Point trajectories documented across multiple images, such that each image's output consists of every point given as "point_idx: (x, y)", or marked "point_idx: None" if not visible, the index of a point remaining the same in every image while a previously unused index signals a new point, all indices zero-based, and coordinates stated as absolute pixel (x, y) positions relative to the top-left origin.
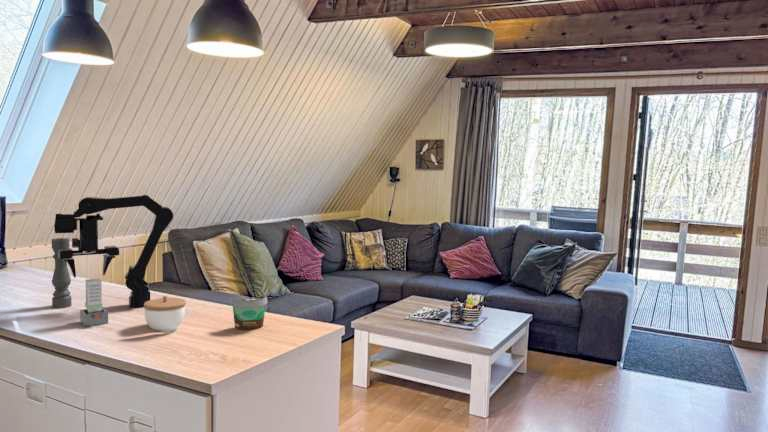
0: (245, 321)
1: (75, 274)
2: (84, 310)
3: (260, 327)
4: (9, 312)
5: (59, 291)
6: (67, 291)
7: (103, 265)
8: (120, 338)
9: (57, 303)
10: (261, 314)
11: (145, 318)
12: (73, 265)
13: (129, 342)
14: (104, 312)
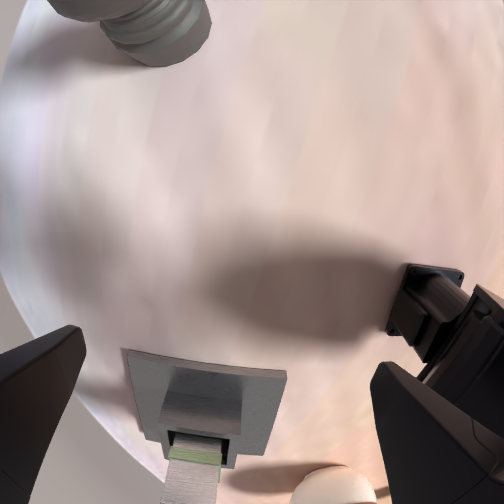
0: None
1: (71, 385)
2: (171, 429)
3: None
4: (9, 68)
5: (113, 22)
6: (162, 15)
7: (432, 445)
8: (232, 481)
9: (128, 55)
10: None
11: (291, 501)
12: (23, 481)
13: (238, 493)
14: (223, 467)
